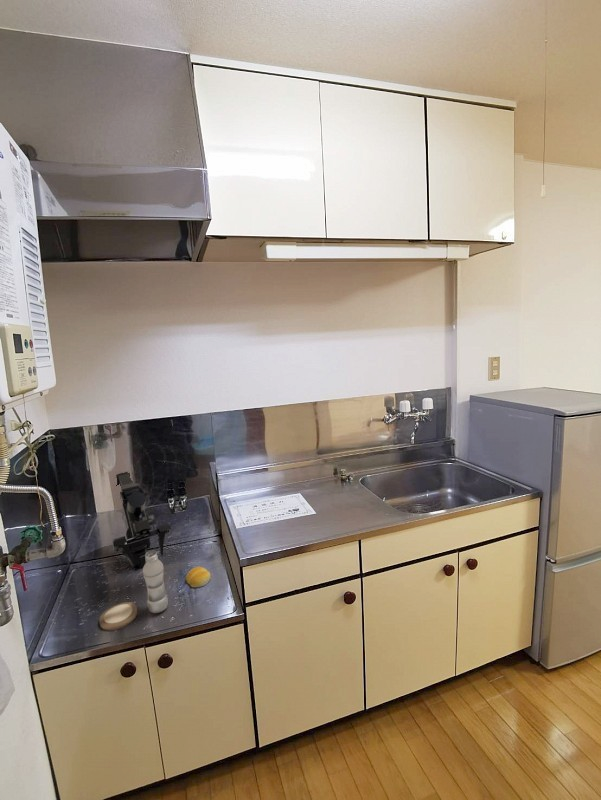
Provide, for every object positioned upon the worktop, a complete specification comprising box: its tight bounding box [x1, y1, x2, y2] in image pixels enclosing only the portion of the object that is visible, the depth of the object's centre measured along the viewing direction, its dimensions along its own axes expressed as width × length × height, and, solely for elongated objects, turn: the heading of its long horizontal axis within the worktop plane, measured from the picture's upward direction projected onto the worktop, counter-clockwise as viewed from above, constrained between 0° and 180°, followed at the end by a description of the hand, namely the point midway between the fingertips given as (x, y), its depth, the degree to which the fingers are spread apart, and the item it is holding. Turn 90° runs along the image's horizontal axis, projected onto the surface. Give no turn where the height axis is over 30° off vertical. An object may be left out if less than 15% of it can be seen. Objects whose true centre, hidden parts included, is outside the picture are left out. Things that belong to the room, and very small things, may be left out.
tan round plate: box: [98, 601, 138, 631], centre depth 126 cm, size 11×11×2 cm
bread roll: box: [185, 566, 211, 588], centre depth 143 cm, size 8×9×4 cm
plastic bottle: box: [142, 550, 169, 614], centre depth 127 cm, size 6×7×20 cm
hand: (148, 561), depth 133 cm, fingers open, 9 cm apart
